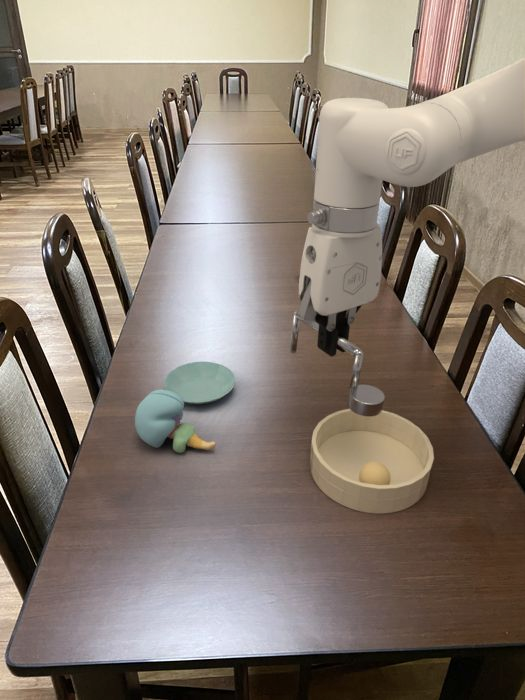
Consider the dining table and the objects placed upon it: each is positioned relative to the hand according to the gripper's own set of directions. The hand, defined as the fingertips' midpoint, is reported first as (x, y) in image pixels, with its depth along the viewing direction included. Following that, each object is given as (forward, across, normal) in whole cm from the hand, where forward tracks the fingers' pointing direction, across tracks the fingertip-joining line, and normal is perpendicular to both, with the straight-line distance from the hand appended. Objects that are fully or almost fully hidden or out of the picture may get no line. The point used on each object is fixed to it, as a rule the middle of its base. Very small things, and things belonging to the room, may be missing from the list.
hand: (331, 348), depth 72 cm
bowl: (+16, +1, -8) cm, 18 cm away
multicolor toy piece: (+16, -19, +11) cm, 27 cm away
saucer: (+16, -10, +21) cm, 28 cm away
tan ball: (+15, -1, -12) cm, 19 cm away
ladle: (+5, 0, -1) cm, 5 cm away
